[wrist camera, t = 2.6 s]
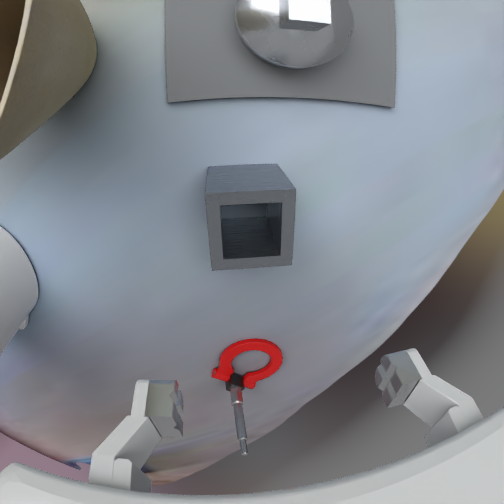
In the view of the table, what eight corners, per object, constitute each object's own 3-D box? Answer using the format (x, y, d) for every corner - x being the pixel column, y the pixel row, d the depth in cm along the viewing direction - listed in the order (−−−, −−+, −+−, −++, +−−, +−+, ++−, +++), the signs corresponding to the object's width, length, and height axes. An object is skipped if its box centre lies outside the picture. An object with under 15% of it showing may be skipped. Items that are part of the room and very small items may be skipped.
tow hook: (241, 327, 36) (204, 369, 39) (257, 418, 25) (209, 451, 28) (293, 347, 39) (254, 384, 42) (319, 427, 28) (268, 459, 31)
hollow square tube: (212, 228, 28) (211, 270, 22) (208, 166, 25) (204, 193, 19) (275, 224, 29) (291, 265, 23) (277, 163, 25) (296, 189, 19)
